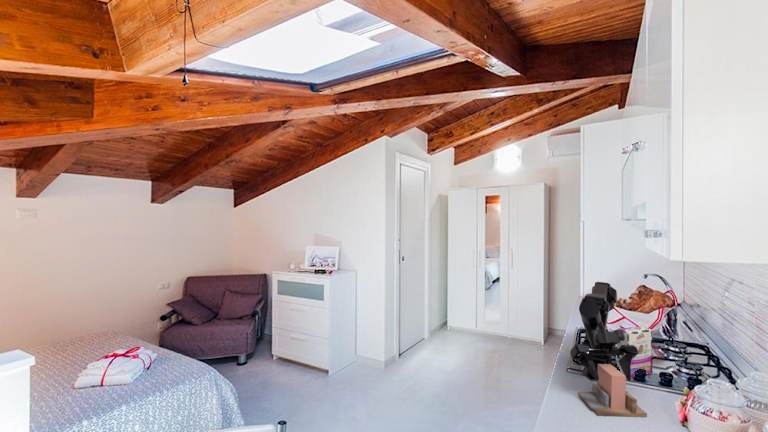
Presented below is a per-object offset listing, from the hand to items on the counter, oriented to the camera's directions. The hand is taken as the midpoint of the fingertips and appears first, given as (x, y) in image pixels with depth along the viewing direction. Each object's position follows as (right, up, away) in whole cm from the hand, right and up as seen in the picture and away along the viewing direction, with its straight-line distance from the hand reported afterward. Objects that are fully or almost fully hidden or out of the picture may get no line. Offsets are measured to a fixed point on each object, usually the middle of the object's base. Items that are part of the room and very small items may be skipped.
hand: (613, 379), depth 112 cm
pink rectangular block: (0, -8, +2) cm, 8 cm away
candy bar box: (+21, -8, +23) cm, 32 cm away
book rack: (0, -9, +2) cm, 9 cm away
